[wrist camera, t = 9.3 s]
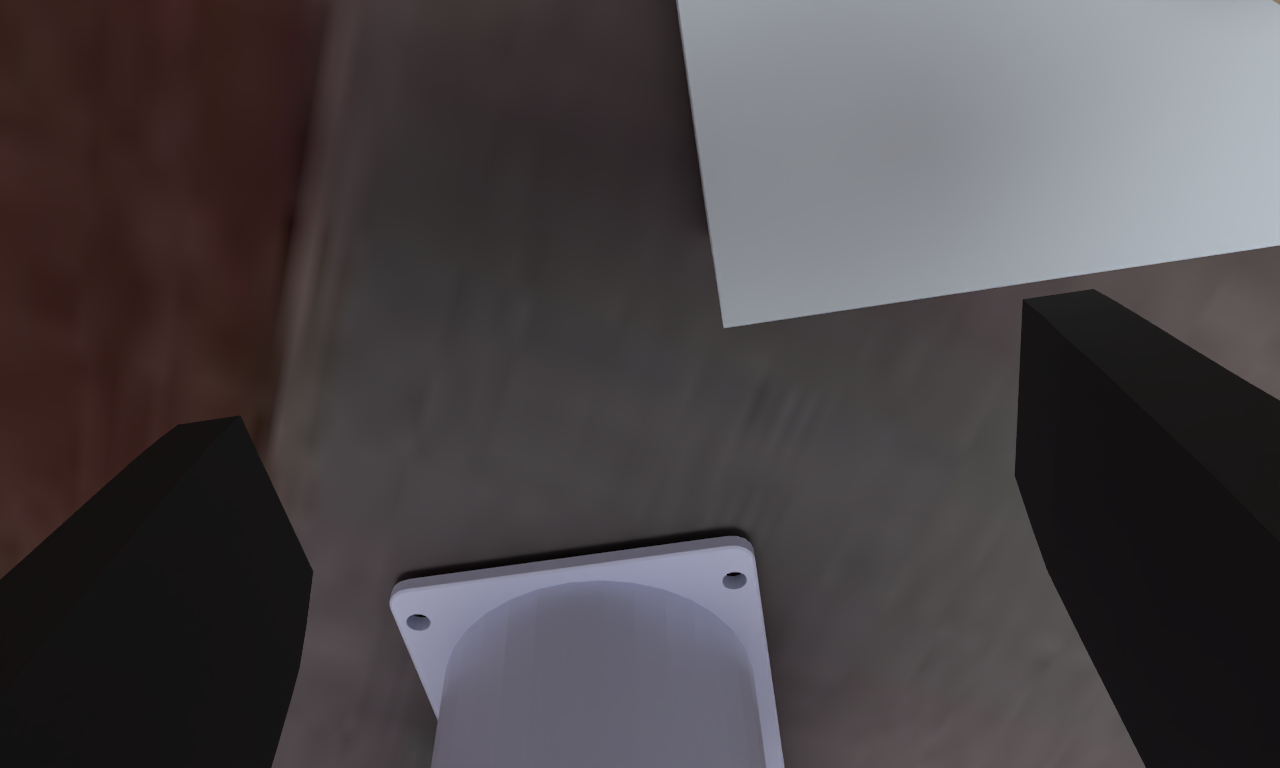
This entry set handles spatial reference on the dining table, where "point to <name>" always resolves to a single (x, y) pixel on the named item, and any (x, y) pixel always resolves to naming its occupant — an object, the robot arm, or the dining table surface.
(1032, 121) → the grey-blue platform
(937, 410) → the dining table surface
